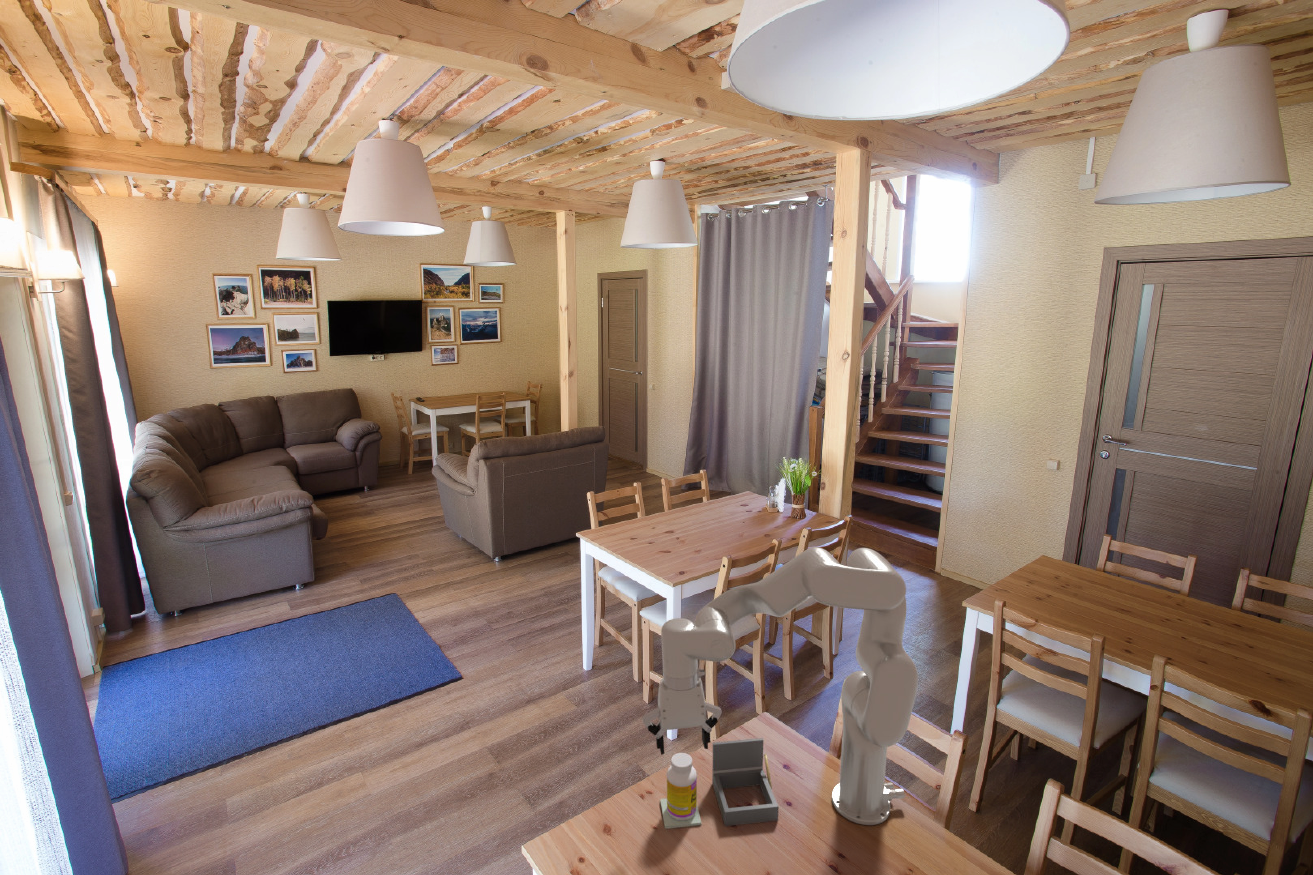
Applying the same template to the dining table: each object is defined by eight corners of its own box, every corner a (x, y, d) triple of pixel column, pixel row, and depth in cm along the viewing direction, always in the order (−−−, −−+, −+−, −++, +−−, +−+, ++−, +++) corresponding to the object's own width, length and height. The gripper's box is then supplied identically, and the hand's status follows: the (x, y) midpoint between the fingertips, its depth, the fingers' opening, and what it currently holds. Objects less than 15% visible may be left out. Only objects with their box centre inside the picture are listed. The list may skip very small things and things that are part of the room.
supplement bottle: (694, 824, 139) (694, 772, 136) (664, 819, 140) (664, 768, 137) (698, 801, 145) (698, 751, 143) (669, 797, 146) (669, 747, 144)
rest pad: (694, 797, 147) (694, 795, 147) (701, 824, 139) (701, 822, 139) (660, 801, 146) (660, 798, 146) (665, 828, 138) (665, 826, 138)
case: (765, 778, 153) (766, 737, 151) (782, 819, 140) (783, 775, 138) (712, 783, 151) (712, 742, 149) (724, 825, 139) (725, 781, 137)
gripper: (716, 663, 141) (718, 732, 144) (638, 671, 139) (642, 741, 142) (724, 682, 134) (726, 754, 137) (642, 691, 132) (646, 764, 135)
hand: (683, 747), depth 140 cm, fingers open, 9 cm apart
